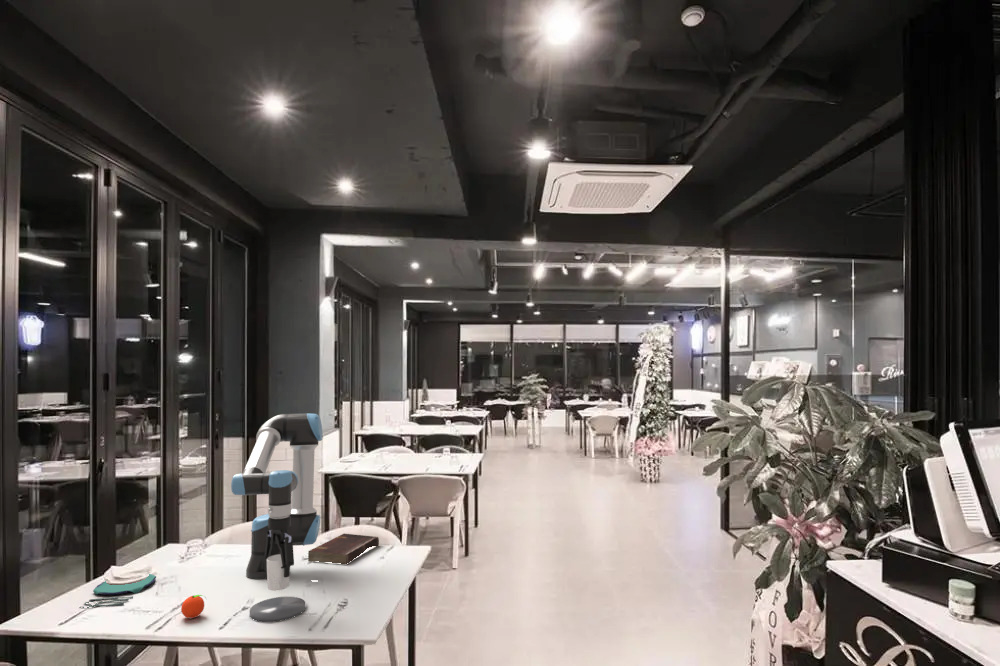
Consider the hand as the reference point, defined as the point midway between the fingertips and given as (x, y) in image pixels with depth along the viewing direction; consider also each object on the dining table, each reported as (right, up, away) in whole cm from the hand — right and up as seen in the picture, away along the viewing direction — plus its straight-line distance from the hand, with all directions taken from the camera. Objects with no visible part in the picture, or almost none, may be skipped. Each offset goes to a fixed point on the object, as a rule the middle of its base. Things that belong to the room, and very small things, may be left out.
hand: (278, 583), depth 200 cm
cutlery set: (-67, -12, +18) cm, 71 cm away
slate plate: (0, -9, -1) cm, 9 cm away
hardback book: (+6, -14, +64) cm, 66 cm away
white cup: (0, -1, 0) cm, 1 cm away
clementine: (-26, -9, -5) cm, 28 cm away
